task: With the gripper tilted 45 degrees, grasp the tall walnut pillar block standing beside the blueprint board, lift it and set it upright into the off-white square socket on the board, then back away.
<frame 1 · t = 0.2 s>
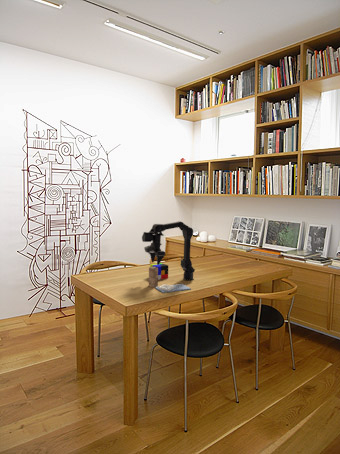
hand: (155, 263, 239), 14 cm above the table, tool pointing down, fingers open, 9 cm apart
puzzle toy: (159, 277, 257), on the table
pillar: (153, 286, 233), on the table
blueprint board: (172, 288, 227), on the table
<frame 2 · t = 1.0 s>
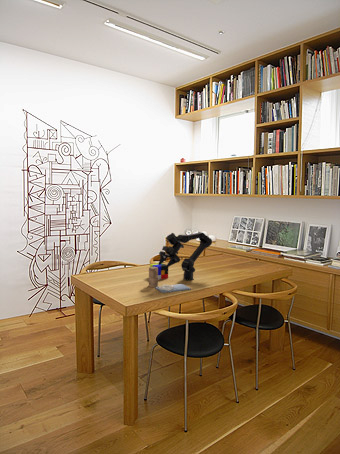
hand: (162, 265, 237), 13 cm above the table, tool tilted 45°, fingers open, 9 cm apart
nothing on the table moved.
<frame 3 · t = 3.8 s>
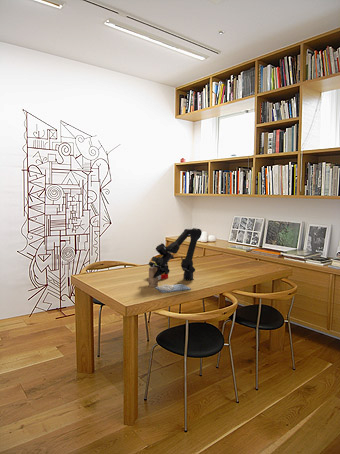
hand: (151, 277, 231), 7 cm above the table, tool tilted 45°, fingers closed on pillar, 4 cm apart
pillar: (153, 286, 233), on the table, touching gripper
everything else where it was.
when the fingers open (8 cm above the table, at t = 8.0 s): pillar stays where it is, resting on blueprint board.
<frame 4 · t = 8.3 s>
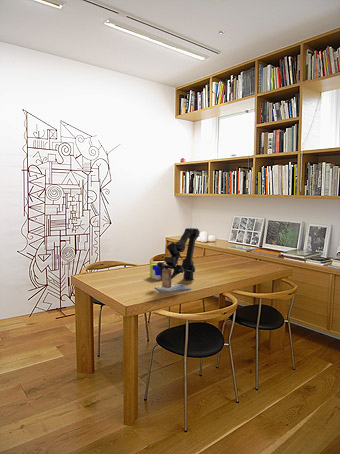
hand: (165, 278, 222), 8 cm above the table, tool tilted 45°, fingers open, 8 cm apart
pillar: (166, 288, 224), point 1 cm above the table, touching blueprint board
everything else where it was.
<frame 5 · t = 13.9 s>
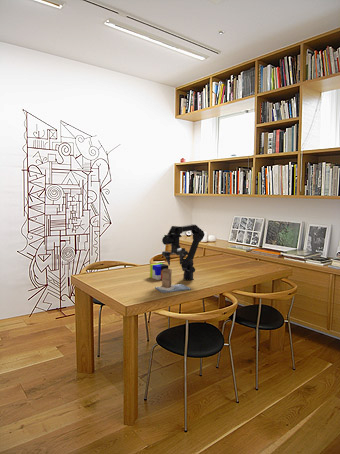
hand: (174, 264, 242), 13 cm above the table, tool pointing down, fingers open, 9 cm apart
nothing on the table moved.
at the end: pillar 0.0 cm from the target spot on the blueprint board, point 0.8 cm above the blueprint board's base; pillar tilted 0°; the gripper is holding nothing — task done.
